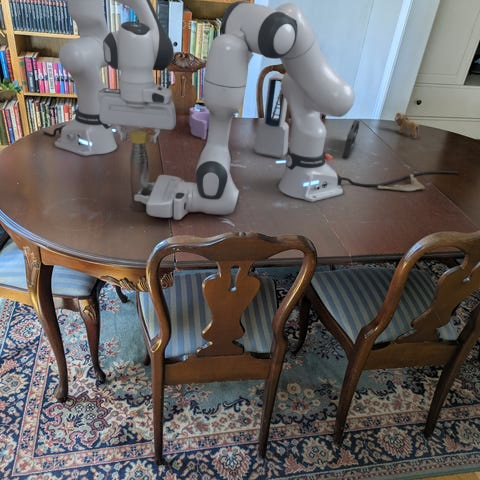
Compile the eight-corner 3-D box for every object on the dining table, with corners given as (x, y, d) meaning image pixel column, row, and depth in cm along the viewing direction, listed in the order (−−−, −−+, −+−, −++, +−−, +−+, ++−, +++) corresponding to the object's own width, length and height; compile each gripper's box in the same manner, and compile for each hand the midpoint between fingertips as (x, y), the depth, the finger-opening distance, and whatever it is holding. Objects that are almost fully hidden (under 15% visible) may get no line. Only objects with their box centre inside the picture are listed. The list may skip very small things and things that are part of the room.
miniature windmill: (286, 130, 210) (297, 60, 194) (268, 127, 211) (277, 58, 195) (288, 124, 218) (299, 56, 202) (271, 121, 219) (279, 54, 203)
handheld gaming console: (349, 160, 187) (354, 136, 182) (342, 158, 188) (347, 134, 183) (355, 142, 206) (361, 119, 201) (349, 140, 207) (354, 118, 201)
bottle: (148, 202, 143) (146, 132, 131) (149, 210, 139) (148, 139, 127) (131, 203, 142) (128, 132, 130) (132, 211, 138) (130, 139, 126)
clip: (182, 123, 206) (183, 107, 202) (209, 122, 210) (210, 106, 207) (197, 140, 191) (197, 123, 187) (225, 138, 195) (226, 122, 191)
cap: (146, 143, 128) (146, 136, 127) (129, 143, 127) (129, 136, 126) (147, 137, 132) (147, 130, 131) (130, 137, 131) (130, 130, 130)
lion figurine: (389, 131, 223) (394, 112, 218) (394, 128, 227) (399, 110, 222) (418, 140, 216) (424, 121, 211) (422, 137, 219) (428, 119, 214)
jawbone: (429, 189, 172) (431, 184, 171) (394, 201, 161) (396, 196, 160) (410, 177, 177) (412, 172, 176) (375, 189, 167) (376, 184, 165)
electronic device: (287, 153, 187) (299, 77, 171) (282, 160, 181) (294, 81, 165) (257, 147, 190) (266, 71, 174) (252, 153, 184) (260, 75, 167)
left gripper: (94, 90, 119) (98, 142, 126) (174, 98, 120) (173, 148, 127) (100, 84, 124) (104, 133, 132) (177, 91, 125) (176, 140, 133)
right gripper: (188, 172, 145) (144, 167, 145) (178, 203, 128) (128, 198, 128) (188, 190, 149) (144, 185, 148) (178, 222, 131) (129, 218, 131)
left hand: (138, 141), depth 129 cm, fingers open, 7 cm apart
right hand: (137, 191), depth 138 cm, fingers closed on bottle, 5 cm apart
